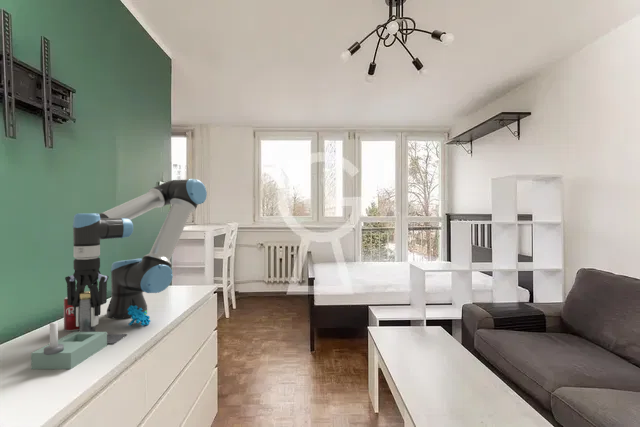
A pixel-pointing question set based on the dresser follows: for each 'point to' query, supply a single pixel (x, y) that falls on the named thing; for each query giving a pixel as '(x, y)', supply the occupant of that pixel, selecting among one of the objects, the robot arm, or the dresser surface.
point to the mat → (114, 338)
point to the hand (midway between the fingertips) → (87, 324)
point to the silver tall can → (85, 312)
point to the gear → (138, 315)
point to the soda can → (69, 317)
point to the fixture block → (67, 349)
